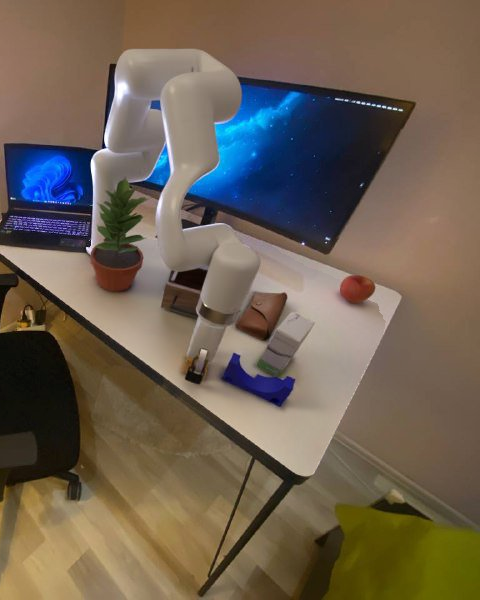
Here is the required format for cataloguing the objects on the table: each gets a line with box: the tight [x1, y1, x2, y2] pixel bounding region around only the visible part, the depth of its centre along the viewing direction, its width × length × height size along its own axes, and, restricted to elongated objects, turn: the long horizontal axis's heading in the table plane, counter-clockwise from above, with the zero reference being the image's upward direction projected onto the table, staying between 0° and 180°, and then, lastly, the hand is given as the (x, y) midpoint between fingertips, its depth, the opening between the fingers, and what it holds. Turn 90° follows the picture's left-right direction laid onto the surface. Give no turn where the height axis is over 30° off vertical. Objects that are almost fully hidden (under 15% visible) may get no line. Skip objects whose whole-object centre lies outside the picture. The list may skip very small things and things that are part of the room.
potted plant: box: [90, 176, 151, 292], centre depth 91 cm, size 15×15×30 cm
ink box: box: [256, 311, 316, 378], centre depth 75 cm, size 9×5×12 cm, turn 134°
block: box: [182, 353, 211, 381], centre depth 76 cm, size 4×4×4 cm
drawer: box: [160, 269, 207, 320], centre depth 89 cm, size 18×12×8 cm
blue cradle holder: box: [221, 352, 296, 408], centre depth 72 cm, size 12×4×6 cm, turn 56°
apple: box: [339, 274, 376, 304], centre depth 93 cm, size 7×7×8 cm
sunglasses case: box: [234, 291, 288, 342], centre depth 89 cm, size 18×7×7 cm
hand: (196, 364), depth 76 cm, fingers open, 9 cm apart
